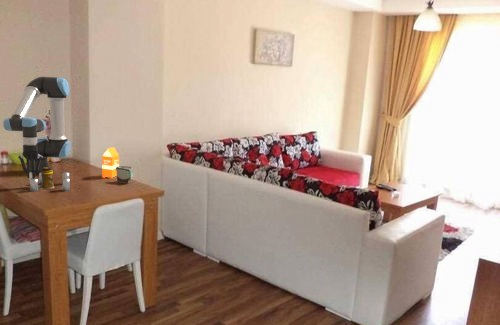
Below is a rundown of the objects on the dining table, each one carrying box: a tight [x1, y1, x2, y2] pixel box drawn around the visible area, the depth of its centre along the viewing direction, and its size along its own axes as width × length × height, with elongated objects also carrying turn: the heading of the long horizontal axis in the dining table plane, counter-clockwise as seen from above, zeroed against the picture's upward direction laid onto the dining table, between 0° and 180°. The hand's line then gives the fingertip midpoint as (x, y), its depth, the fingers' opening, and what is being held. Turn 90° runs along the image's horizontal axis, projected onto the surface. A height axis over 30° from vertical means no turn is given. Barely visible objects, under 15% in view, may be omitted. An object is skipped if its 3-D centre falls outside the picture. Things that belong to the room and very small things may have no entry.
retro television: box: [115, 165, 133, 185], centre depth 279 cm, size 12×6×10 cm, turn 65°
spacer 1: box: [29, 177, 39, 193], centre depth 246 cm, size 4×4×7 cm
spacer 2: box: [38, 172, 42, 186], centre depth 261 cm, size 4×4×7 cm
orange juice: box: [101, 146, 120, 179], centre depth 290 cm, size 8×9×20 cm
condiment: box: [38, 166, 56, 190], centre depth 254 cm, size 7×8×12 cm
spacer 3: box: [61, 171, 70, 180], centre depth 265 cm, size 4×4×7 cm
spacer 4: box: [61, 177, 71, 192], centre depth 250 cm, size 4×4×7 cm
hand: (31, 183), depth 253 cm, fingers closed
